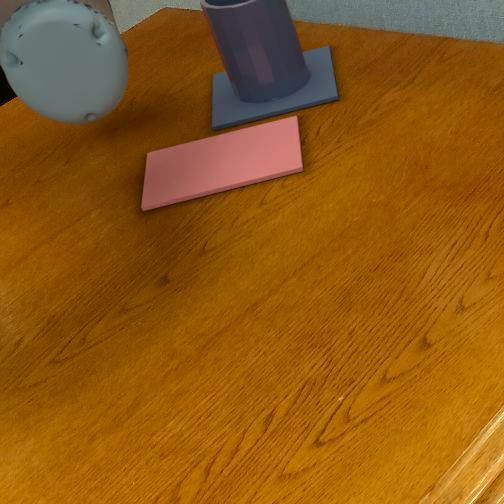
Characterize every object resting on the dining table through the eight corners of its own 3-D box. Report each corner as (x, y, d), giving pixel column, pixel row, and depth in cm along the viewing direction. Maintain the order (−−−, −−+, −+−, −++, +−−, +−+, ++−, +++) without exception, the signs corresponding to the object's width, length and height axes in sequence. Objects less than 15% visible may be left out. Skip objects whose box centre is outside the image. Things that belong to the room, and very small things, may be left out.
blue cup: (237, 114, 95) (198, 15, 88) (236, 81, 99) (200, -15, 93) (313, 95, 95) (280, -5, 88) (309, 63, 100) (278, -34, 93)
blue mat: (213, 131, 93) (211, 126, 93) (214, 77, 101) (213, 73, 101) (339, 99, 93) (337, 95, 93) (330, 49, 101) (329, 45, 101)
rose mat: (143, 211, 85) (141, 207, 85) (149, 156, 91) (147, 152, 91) (303, 171, 85) (302, 166, 85) (298, 119, 92) (296, 115, 92)
